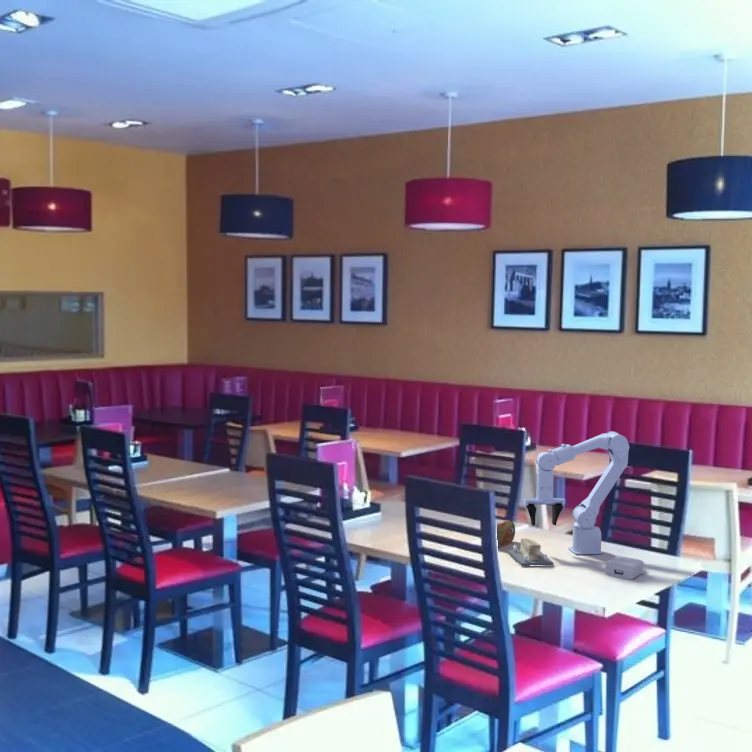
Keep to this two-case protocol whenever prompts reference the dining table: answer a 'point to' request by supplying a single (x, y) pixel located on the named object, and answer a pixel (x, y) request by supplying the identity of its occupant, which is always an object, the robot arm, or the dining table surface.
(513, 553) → the standoff plate
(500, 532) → the tin
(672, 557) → the dining table surface
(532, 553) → the birch block
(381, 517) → the dining table surface
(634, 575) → the charger
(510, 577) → the dining table surface
